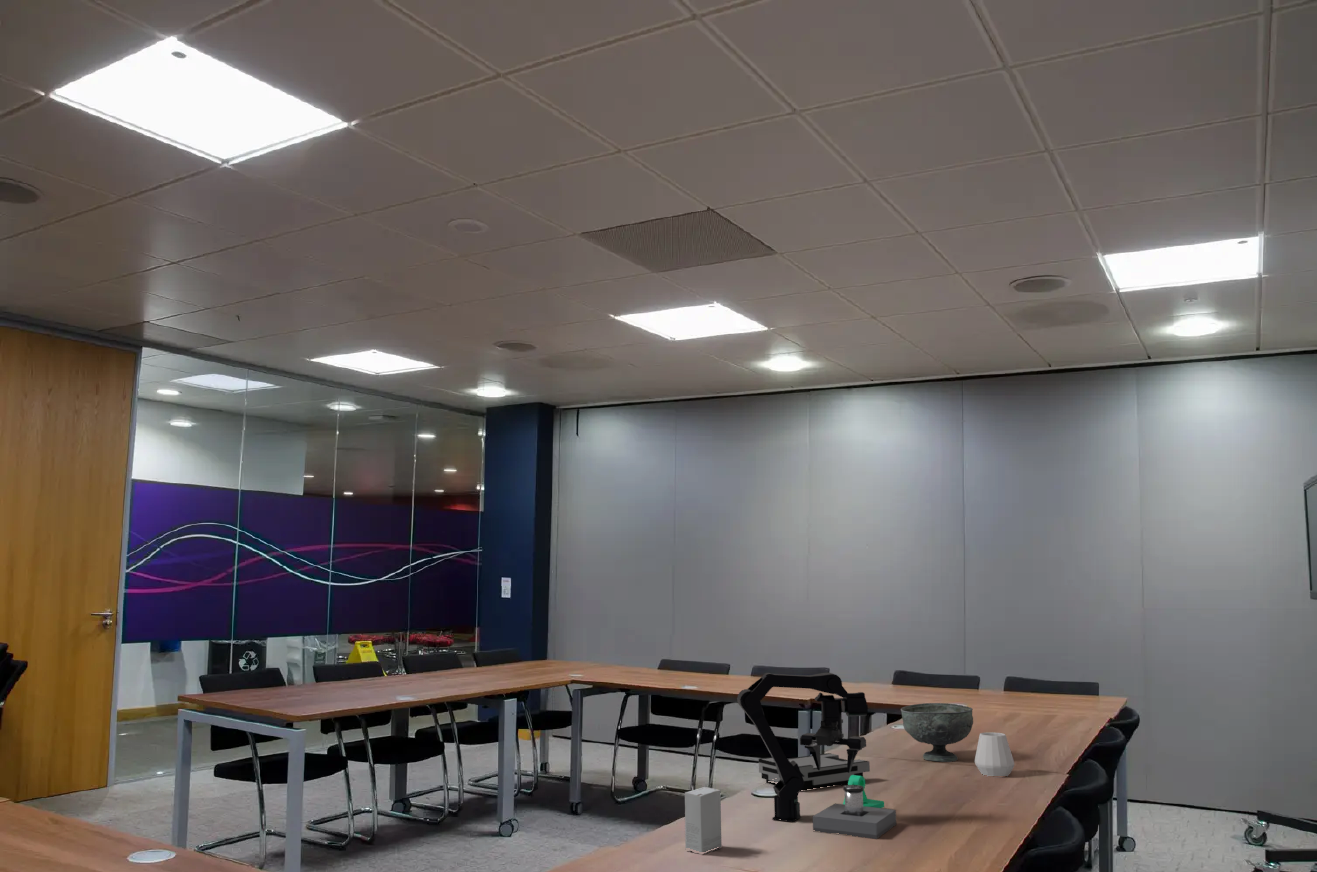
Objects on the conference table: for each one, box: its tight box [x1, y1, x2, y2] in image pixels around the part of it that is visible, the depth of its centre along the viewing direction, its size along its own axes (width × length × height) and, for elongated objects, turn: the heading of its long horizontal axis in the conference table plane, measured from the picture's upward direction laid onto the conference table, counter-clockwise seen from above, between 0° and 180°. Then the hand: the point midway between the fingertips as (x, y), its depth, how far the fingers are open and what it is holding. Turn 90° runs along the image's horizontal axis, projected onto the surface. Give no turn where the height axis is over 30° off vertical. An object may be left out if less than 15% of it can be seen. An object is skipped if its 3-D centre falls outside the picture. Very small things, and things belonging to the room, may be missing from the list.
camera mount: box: [842, 775, 885, 808], centre depth 293 cm, size 12×8×10 cm, turn 139°
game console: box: [758, 752, 871, 790], centre depth 338 cm, size 21×32×8 cm, turn 122°
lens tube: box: [842, 785, 865, 817], centre depth 274 cm, size 6×6×10 cm
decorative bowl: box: [900, 702, 974, 763], centre depth 379 cm, size 26×26×20 cm
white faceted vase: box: [974, 731, 1015, 777], centre depth 347 cm, size 13×13×14 cm
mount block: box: [812, 803, 897, 840], centre depth 273 cm, size 18×18×4 cm
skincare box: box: [684, 786, 723, 852], centre depth 253 cm, size 8×6×15 cm
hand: (833, 771), depth 287 cm, fingers open, 9 cm apart
